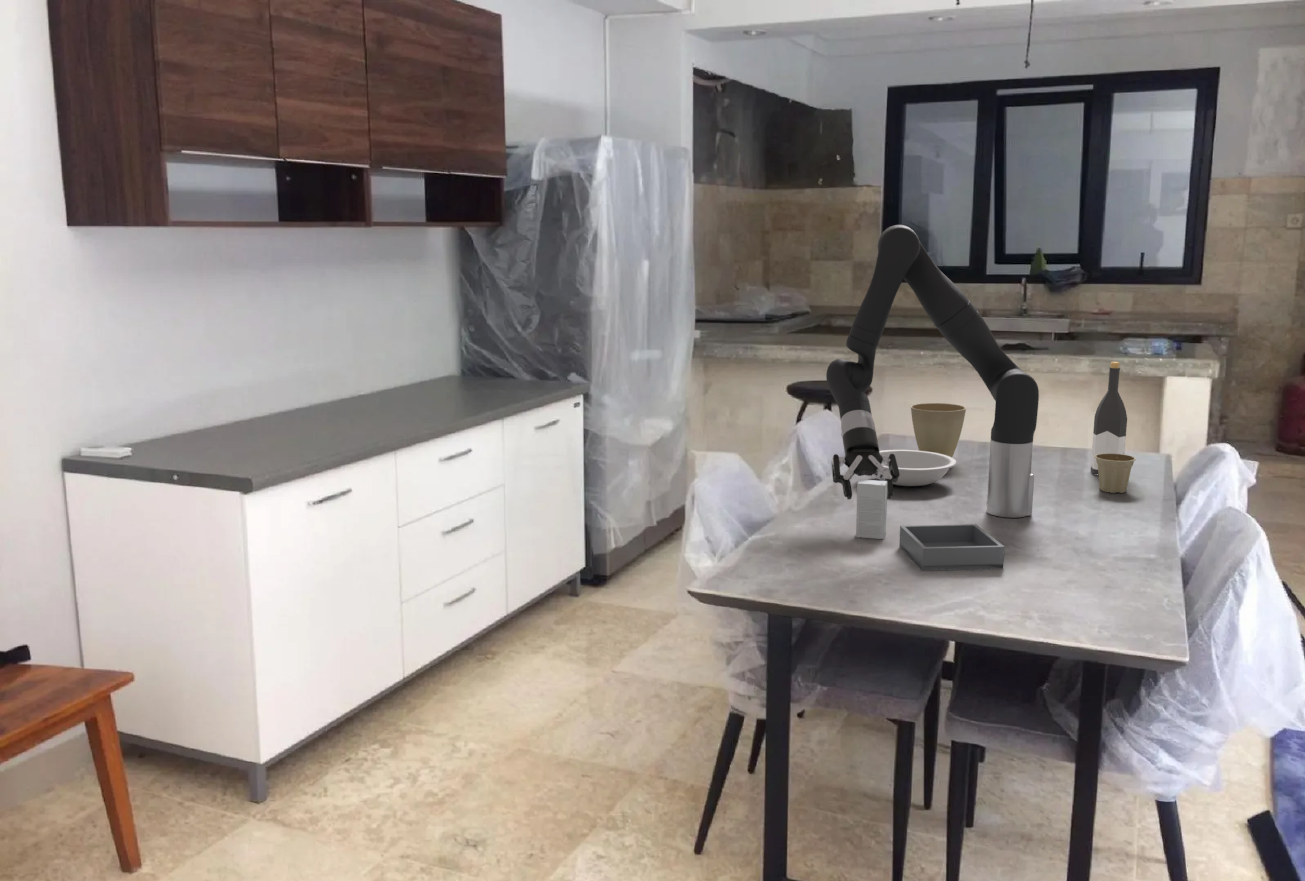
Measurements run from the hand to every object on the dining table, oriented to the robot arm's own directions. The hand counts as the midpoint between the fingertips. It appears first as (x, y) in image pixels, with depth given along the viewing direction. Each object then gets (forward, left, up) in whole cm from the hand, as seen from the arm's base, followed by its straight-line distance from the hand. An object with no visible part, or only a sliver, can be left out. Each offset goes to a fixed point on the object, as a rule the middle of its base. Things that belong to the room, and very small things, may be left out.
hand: (869, 497), depth 230 cm
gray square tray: (-12, +18, -8) cm, 23 cm away
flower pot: (-70, -33, -8) cm, 78 cm away
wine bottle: (-77, -51, -8) cm, 93 cm away
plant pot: (-36, -68, -8) cm, 78 cm away
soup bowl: (-21, -44, -8) cm, 50 cm away
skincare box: (0, +2, -8) cm, 8 cm away
